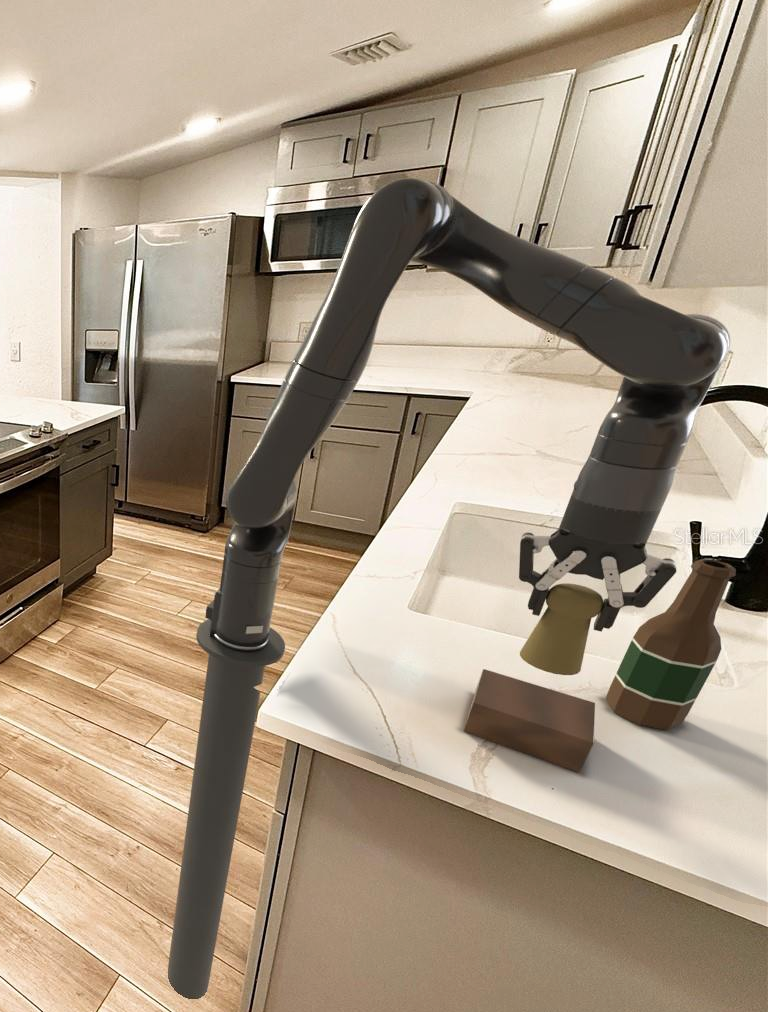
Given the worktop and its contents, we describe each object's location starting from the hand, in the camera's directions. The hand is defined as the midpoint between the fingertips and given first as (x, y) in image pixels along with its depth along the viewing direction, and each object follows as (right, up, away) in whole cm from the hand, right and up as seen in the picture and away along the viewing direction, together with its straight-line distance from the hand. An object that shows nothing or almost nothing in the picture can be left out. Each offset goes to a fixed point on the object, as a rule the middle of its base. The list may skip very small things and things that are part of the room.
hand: (566, 620), depth 78 cm
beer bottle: (+20, -15, +9) cm, 27 cm away
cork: (0, -6, +3) cm, 7 cm away
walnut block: (+1, -17, +7) cm, 18 cm away
